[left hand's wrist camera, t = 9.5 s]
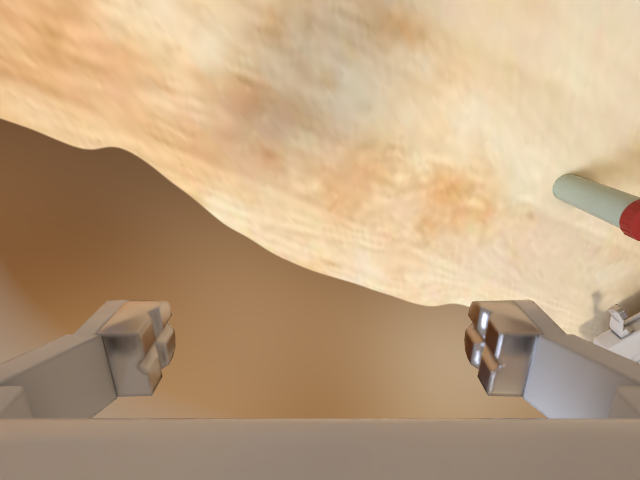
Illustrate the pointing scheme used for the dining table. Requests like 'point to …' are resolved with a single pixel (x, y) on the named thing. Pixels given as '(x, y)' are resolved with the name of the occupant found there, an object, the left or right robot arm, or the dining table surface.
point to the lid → (631, 220)
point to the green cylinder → (593, 197)
